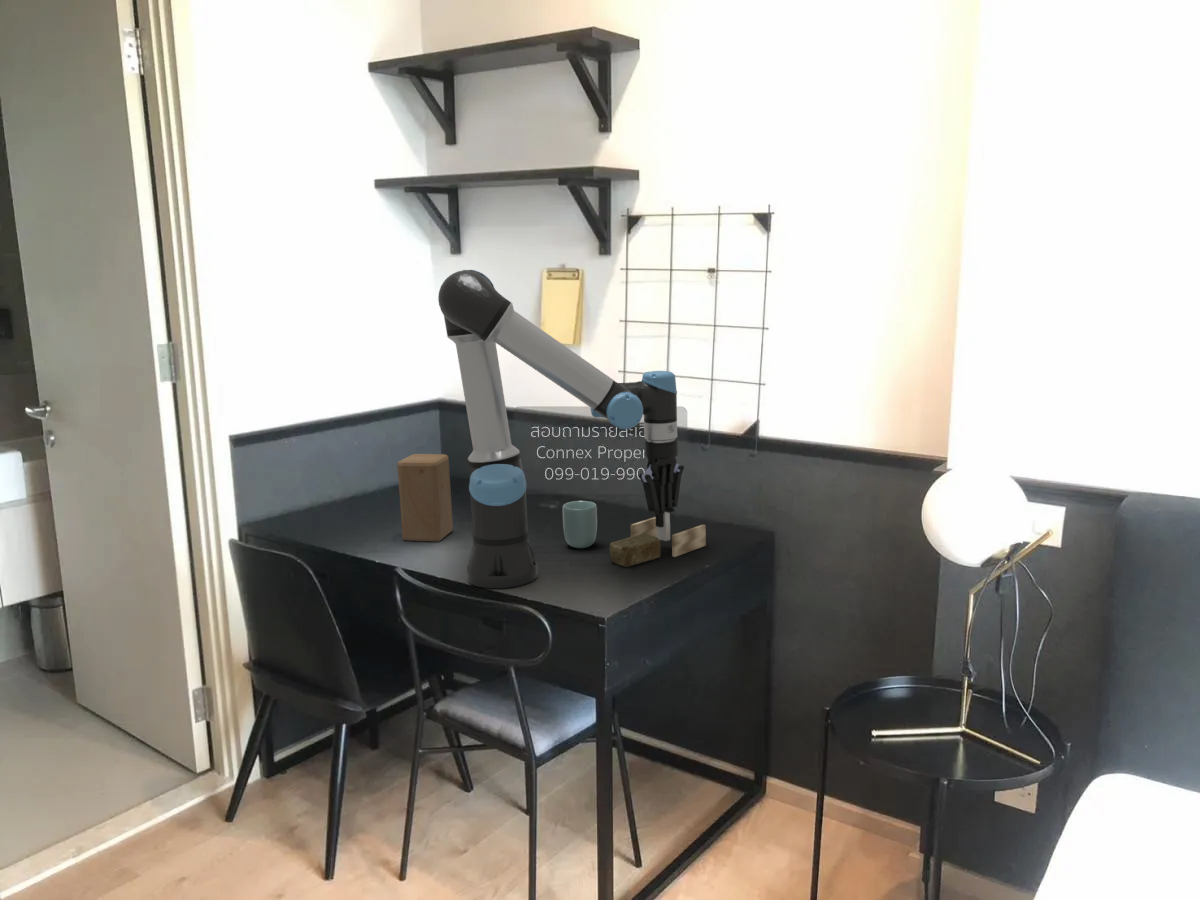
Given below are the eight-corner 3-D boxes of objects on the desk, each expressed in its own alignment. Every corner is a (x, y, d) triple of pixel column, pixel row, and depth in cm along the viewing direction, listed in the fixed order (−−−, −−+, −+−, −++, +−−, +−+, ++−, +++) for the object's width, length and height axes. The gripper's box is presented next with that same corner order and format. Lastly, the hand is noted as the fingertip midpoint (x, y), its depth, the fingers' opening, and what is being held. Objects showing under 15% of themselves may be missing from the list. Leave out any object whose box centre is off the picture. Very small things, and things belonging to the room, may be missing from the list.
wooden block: (439, 542, 222) (434, 462, 218) (401, 541, 224) (395, 461, 220) (454, 531, 232) (449, 453, 228) (417, 529, 234) (411, 452, 230)
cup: (579, 539, 222) (577, 499, 220) (604, 544, 217) (602, 503, 215) (557, 547, 216) (555, 506, 214) (582, 553, 211) (581, 511, 209)
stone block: (608, 563, 204) (607, 541, 203) (646, 552, 211) (645, 531, 210) (625, 569, 200) (624, 547, 199) (663, 558, 207) (663, 536, 206)
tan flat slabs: (674, 557, 206) (674, 535, 205) (630, 545, 216) (630, 524, 215) (705, 545, 214) (705, 525, 213) (662, 534, 223) (661, 514, 222)
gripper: (653, 446, 201) (656, 549, 206) (692, 436, 210) (694, 535, 214) (629, 442, 206) (632, 542, 211) (667, 433, 215) (670, 530, 220)
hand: (663, 539), depth 213 cm, fingers closed
